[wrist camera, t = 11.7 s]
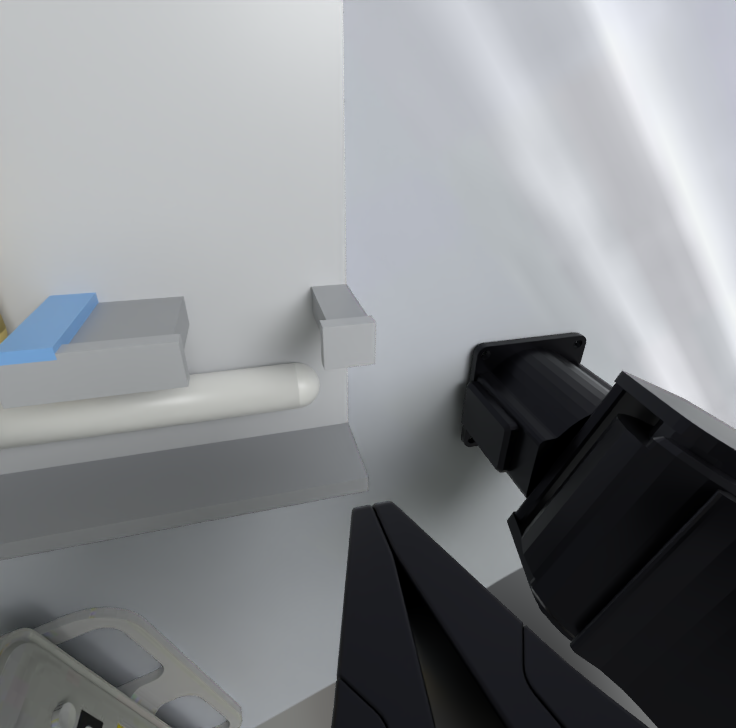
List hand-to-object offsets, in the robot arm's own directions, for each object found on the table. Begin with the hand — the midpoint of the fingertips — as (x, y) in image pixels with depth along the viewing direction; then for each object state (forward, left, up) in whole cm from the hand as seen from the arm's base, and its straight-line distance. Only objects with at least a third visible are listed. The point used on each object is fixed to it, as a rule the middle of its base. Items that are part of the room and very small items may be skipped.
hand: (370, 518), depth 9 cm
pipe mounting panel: (+7, -2, -12) cm, 14 cm away
